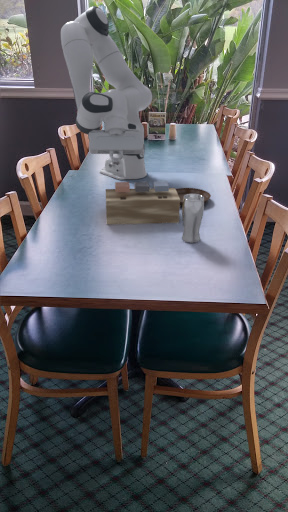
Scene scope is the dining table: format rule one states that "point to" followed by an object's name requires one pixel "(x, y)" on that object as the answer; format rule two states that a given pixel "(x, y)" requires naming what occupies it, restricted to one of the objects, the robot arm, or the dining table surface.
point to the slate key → (161, 186)
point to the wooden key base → (142, 207)
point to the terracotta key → (122, 187)
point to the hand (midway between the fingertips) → (116, 163)
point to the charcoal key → (141, 186)
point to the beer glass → (192, 217)
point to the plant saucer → (185, 191)
